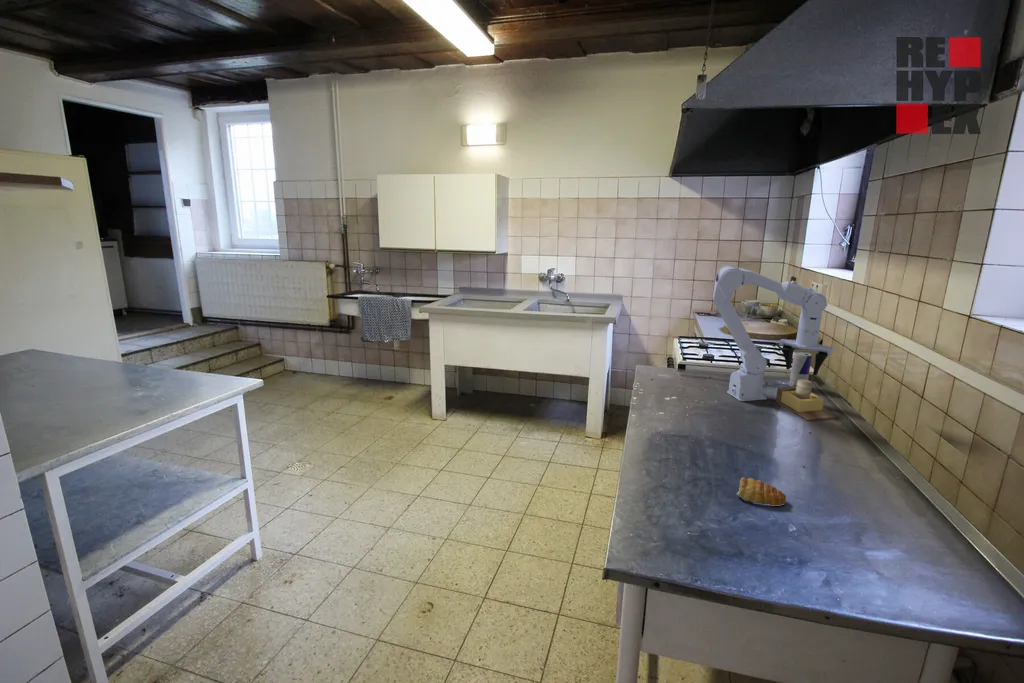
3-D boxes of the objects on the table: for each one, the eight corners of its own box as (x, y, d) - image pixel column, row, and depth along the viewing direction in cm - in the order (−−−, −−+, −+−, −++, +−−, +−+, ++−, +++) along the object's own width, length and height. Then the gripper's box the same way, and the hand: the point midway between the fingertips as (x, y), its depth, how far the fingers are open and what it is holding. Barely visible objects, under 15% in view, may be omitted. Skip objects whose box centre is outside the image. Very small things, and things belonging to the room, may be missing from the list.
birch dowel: (802, 406, 149) (806, 384, 147) (791, 401, 152) (794, 380, 151) (811, 404, 150) (815, 382, 148) (800, 399, 154) (803, 378, 152)
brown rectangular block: (807, 420, 143) (810, 404, 142) (775, 401, 156) (777, 387, 155) (835, 418, 144) (838, 402, 143) (800, 400, 158) (803, 385, 156)
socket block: (798, 412, 147) (800, 401, 146) (780, 401, 155) (782, 391, 154) (822, 410, 148) (824, 399, 147) (803, 400, 156) (804, 389, 155)
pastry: (784, 496, 107) (787, 481, 106) (785, 514, 101) (787, 497, 100) (737, 486, 111) (739, 471, 110) (735, 502, 105) (737, 486, 104)
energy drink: (809, 389, 167) (815, 356, 163) (793, 389, 167) (799, 356, 163) (801, 383, 172) (806, 351, 169) (785, 383, 172) (791, 351, 169)
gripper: (778, 328, 153) (772, 369, 157) (831, 336, 143) (823, 380, 147) (786, 324, 158) (780, 364, 162) (838, 332, 148) (830, 374, 152)
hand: (801, 371), depth 155 cm, fingers open, 7 cm apart
